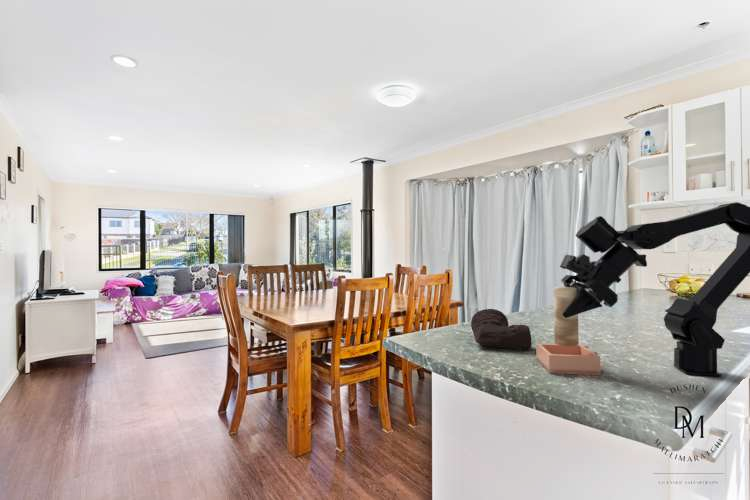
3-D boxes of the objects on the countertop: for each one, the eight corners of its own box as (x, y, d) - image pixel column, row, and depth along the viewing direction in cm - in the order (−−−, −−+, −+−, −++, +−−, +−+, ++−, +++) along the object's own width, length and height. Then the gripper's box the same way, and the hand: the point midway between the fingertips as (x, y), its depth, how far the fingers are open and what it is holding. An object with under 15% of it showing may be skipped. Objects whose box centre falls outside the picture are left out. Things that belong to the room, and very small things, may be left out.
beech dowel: (581, 343, 90) (581, 287, 90) (573, 347, 86) (573, 289, 86) (559, 340, 93) (558, 286, 93) (551, 343, 90) (550, 288, 90)
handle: (567, 344, 109) (586, 344, 108) (567, 347, 109) (586, 347, 108) (577, 351, 102) (597, 351, 101) (577, 354, 102) (597, 354, 101)
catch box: (581, 361, 94) (581, 344, 94) (600, 375, 84) (600, 356, 84) (536, 359, 96) (536, 343, 96) (549, 373, 85) (549, 355, 85)
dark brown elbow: (532, 325, 102) (520, 307, 116) (473, 327, 104) (470, 309, 119) (533, 359, 103) (522, 337, 118) (475, 360, 106) (471, 338, 121)
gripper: (569, 243, 99) (524, 286, 100) (600, 241, 80) (545, 294, 82) (602, 274, 97) (557, 317, 99) (642, 279, 79) (585, 332, 80)
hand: (559, 314), depth 90 cm, fingers closed on beech dowel, 5 cm apart
